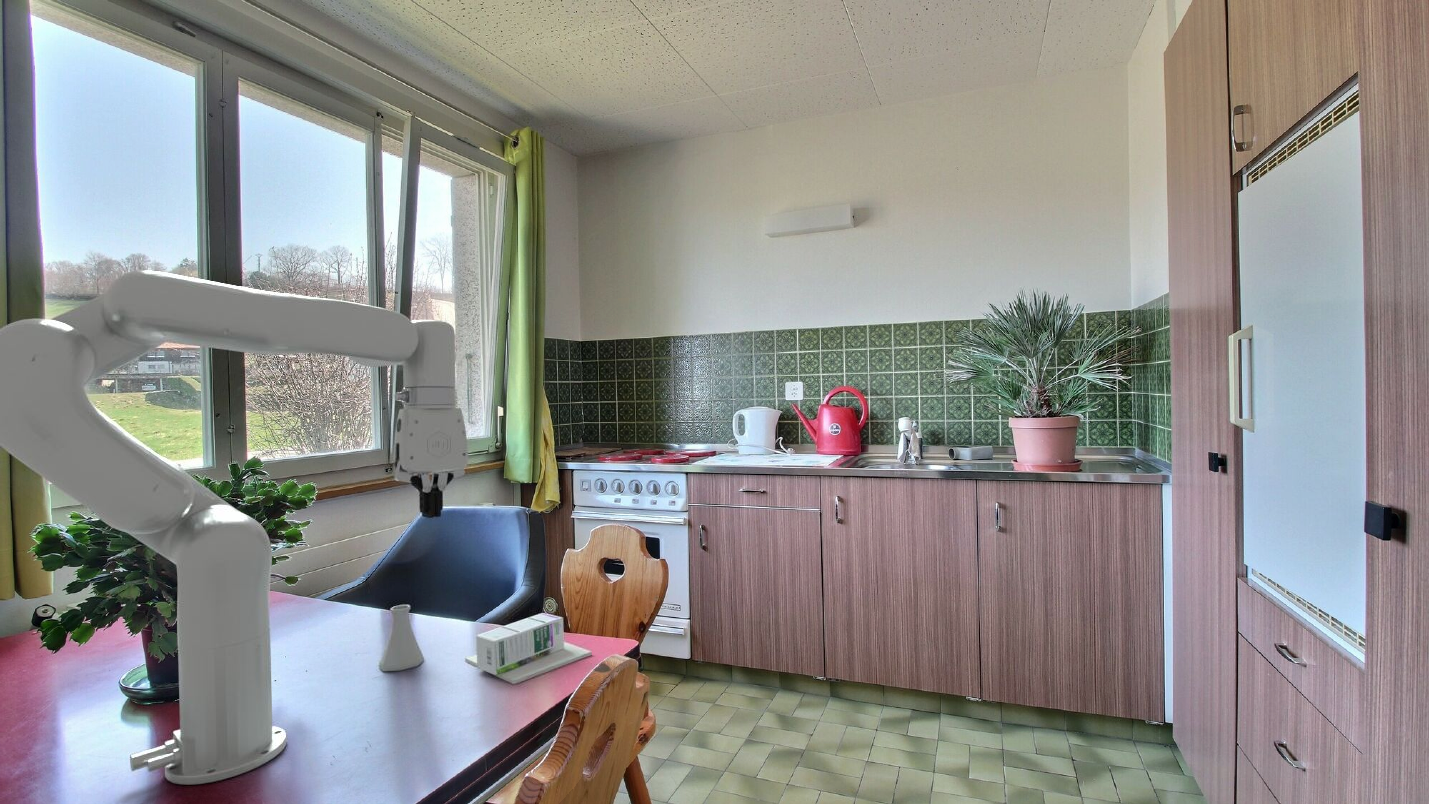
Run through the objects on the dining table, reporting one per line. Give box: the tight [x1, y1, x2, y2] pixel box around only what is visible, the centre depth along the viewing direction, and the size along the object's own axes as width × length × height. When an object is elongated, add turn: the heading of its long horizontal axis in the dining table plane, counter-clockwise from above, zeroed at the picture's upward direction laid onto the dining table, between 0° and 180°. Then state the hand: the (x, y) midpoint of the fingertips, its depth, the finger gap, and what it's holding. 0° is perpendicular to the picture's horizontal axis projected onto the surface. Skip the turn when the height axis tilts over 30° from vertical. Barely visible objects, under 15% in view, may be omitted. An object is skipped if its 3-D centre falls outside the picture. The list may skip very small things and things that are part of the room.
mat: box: [464, 641, 592, 685], centre depth 116 cm, size 16×16×1 cm
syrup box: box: [475, 612, 565, 676], centre depth 115 cm, size 6×6×14 cm
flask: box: [378, 604, 425, 672], centre depth 115 cm, size 7×7×10 cm
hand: (431, 516), depth 103 cm, fingers closed
